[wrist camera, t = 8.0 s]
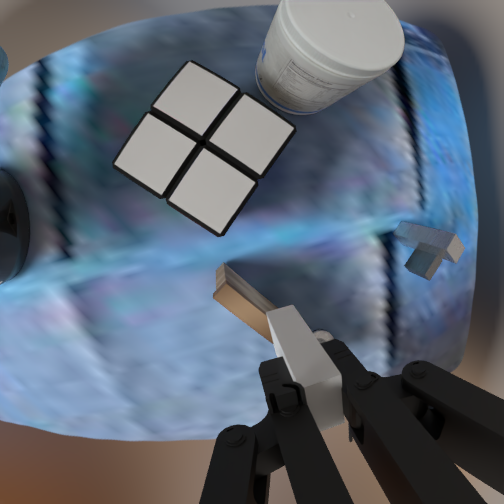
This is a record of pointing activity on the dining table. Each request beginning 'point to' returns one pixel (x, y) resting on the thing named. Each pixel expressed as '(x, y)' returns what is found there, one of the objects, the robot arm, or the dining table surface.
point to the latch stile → (428, 247)
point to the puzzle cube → (204, 147)
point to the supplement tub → (325, 51)
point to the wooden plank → (243, 300)
